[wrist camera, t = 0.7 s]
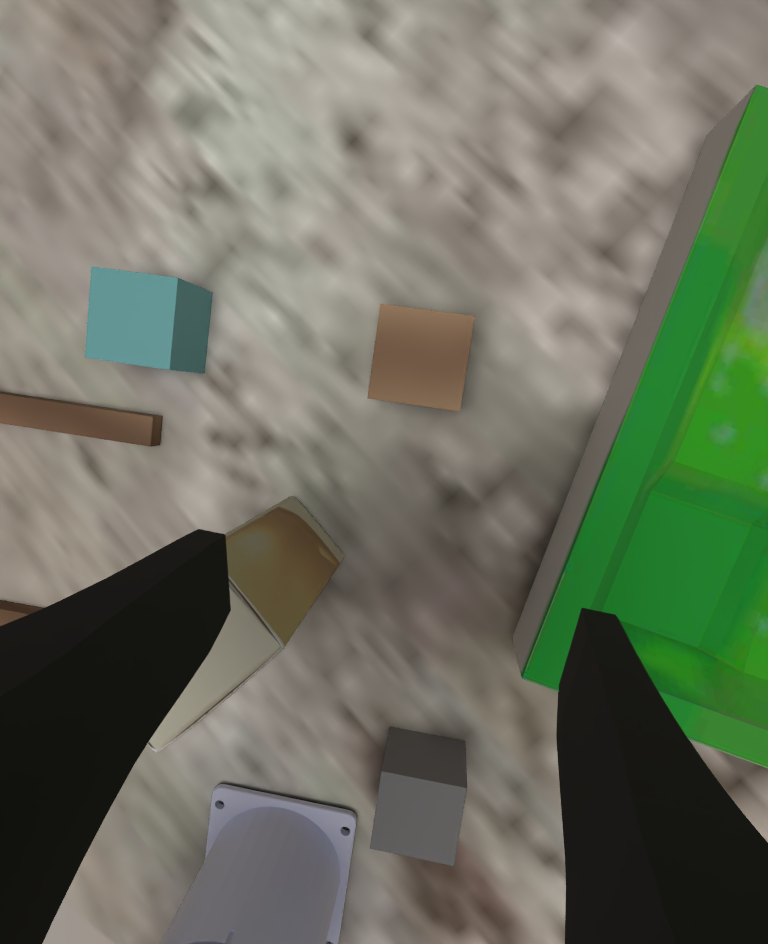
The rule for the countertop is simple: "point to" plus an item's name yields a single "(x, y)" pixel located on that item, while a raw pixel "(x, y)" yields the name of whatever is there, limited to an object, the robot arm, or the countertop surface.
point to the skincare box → (257, 607)
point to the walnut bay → (78, 423)
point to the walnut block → (420, 357)
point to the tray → (682, 467)
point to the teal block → (147, 320)
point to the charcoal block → (420, 796)
